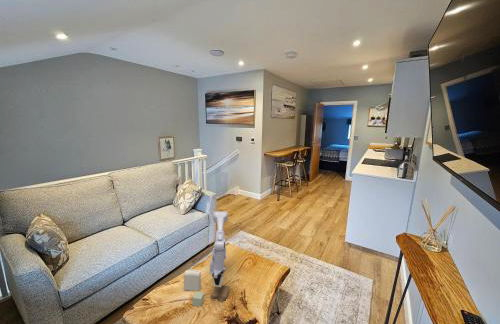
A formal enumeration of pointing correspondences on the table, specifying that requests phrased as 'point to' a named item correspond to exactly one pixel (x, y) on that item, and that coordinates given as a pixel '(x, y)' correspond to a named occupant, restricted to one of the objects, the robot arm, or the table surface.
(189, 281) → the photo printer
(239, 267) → the table surface
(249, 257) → the table surface
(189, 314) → the table surface
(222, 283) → the cream cube
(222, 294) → the walnut base
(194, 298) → the sage cube
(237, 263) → the table surface
